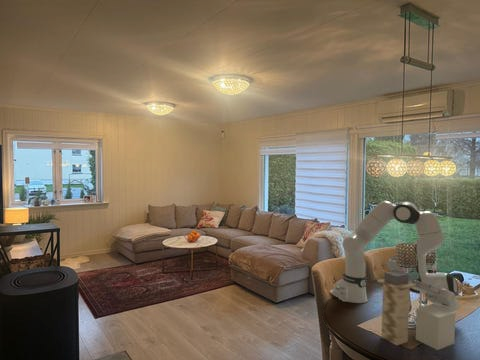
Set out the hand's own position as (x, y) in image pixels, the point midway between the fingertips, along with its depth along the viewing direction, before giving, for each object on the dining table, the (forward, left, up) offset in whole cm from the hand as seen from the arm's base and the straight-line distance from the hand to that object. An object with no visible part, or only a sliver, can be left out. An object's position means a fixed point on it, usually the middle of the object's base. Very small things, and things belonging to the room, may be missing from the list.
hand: (420, 283), depth 154 cm
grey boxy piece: (0, -12, +3) cm, 13 cm away
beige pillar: (0, -17, -23) cm, 29 cm away
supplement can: (-50, +87, -23) cm, 103 cm away
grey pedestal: (+9, -2, -23) cm, 25 cm away
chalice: (-52, +55, -23) cm, 79 cm away
